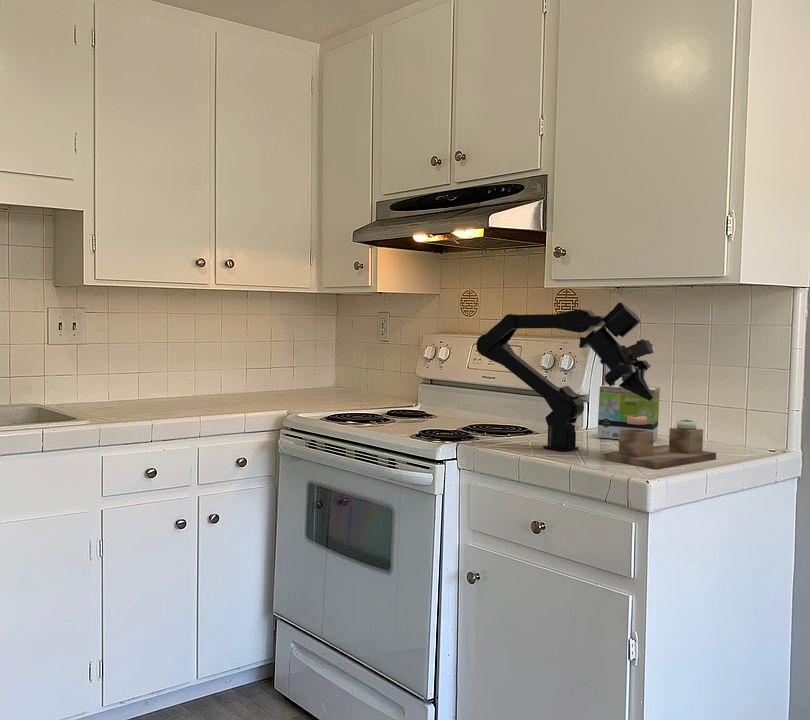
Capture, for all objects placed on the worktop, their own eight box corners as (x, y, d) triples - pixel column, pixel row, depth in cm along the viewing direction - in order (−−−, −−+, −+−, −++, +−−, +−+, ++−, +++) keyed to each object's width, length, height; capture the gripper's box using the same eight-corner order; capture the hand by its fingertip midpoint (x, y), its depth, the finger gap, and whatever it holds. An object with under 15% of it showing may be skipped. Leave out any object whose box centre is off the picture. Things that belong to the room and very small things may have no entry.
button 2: (672, 427, 191) (673, 420, 191) (683, 426, 194) (683, 418, 194) (689, 429, 188) (689, 422, 188) (699, 428, 190) (700, 421, 190)
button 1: (623, 422, 186) (623, 415, 186) (634, 421, 188) (634, 414, 188) (638, 425, 182) (639, 417, 182) (650, 423, 185) (650, 416, 185)
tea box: (596, 438, 220) (598, 385, 219) (603, 434, 229) (605, 382, 228) (653, 443, 213) (655, 388, 213) (658, 438, 222) (660, 385, 222)
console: (604, 459, 187) (605, 429, 186) (664, 450, 201) (665, 423, 201) (655, 469, 176) (657, 437, 175) (715, 458, 190) (717, 429, 190)
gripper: (621, 327, 183) (667, 379, 178) (644, 327, 199) (687, 375, 194) (586, 359, 188) (630, 411, 183) (611, 357, 203) (652, 404, 198)
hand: (651, 399), depth 189 cm, fingers closed
